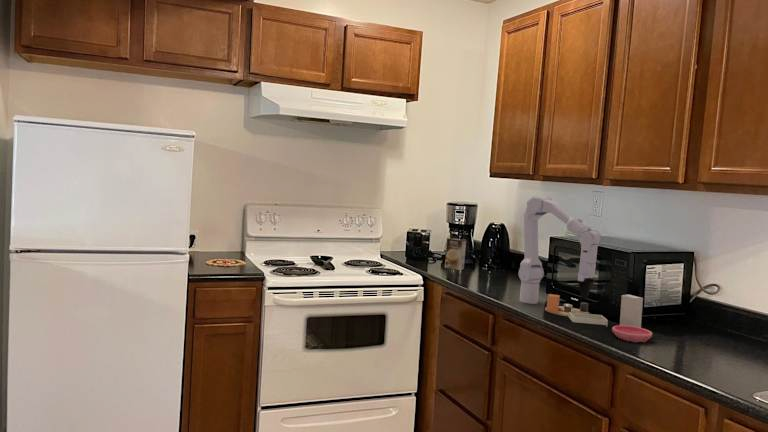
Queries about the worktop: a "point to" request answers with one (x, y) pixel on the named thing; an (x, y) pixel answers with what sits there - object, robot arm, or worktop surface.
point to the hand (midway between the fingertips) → (584, 297)
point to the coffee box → (455, 253)
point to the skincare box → (631, 310)
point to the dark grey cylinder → (582, 309)
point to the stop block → (553, 303)
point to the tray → (588, 318)
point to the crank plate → (564, 311)
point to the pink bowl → (632, 333)
